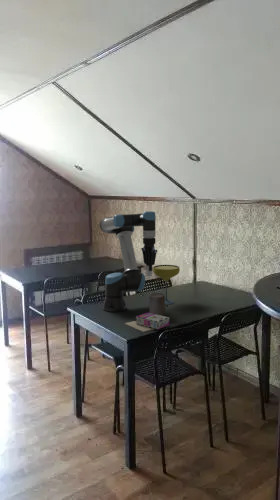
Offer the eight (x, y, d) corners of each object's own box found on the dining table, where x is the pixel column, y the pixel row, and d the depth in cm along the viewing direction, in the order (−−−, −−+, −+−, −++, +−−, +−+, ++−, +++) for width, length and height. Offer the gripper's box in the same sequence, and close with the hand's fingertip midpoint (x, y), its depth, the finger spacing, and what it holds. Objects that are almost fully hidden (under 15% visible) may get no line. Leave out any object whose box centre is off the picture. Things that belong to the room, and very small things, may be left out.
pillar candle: (164, 313, 283) (163, 290, 281) (165, 318, 273) (165, 294, 271) (148, 314, 283) (148, 291, 280) (149, 318, 273) (149, 294, 271)
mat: (124, 324, 262) (124, 323, 262) (149, 318, 273) (149, 317, 273) (143, 332, 248) (143, 331, 248) (167, 326, 259) (167, 325, 259)
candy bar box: (135, 324, 260) (157, 330, 250) (135, 316, 260) (157, 321, 249) (148, 320, 269) (169, 325, 258) (148, 312, 268) (169, 316, 257)
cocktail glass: (154, 298, 319) (154, 264, 316) (180, 299, 317) (180, 264, 313) (151, 305, 302) (151, 269, 298) (178, 306, 299) (178, 269, 295)
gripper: (137, 236, 270) (137, 274, 273) (150, 238, 259) (150, 278, 263) (147, 235, 274) (147, 273, 278) (160, 237, 264) (160, 276, 267)
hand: (149, 275), depth 270 cm, fingers closed
